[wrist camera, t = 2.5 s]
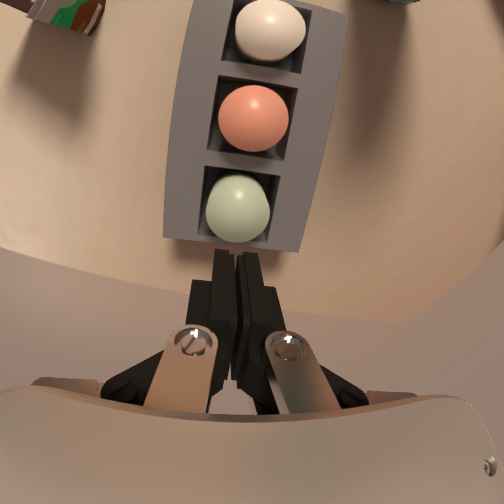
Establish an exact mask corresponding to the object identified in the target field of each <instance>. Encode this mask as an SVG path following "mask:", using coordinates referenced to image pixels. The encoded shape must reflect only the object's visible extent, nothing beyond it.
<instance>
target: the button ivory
mask: <svg viewBox="0 0 504 504" xmlns="http://www.w3.org/2000/svg"><path fill="white" fill-rule="evenodd" d="M305 31H306V27H305V22H304V20H303V18H302V16H301V14H300V13H299V12H298V11H297V10H296V9H295V8H294V7H293V6H291V5H289V4H288V3H285V2H283V1H280V0H257V1H254V2H252V3H250V4H248V5H246V6H245V7H244V8H243V9H242V10H241V11H240V13H239V14H238V16H237V19H236V27H235V45H236V48H237V50H238V52H239V54H240V55H241V56H242V57H243V58H244V59H246V60H247V61H249V62H251V63H253V64H257V65H273V64H276V63H278V62H280V61H282V60H283V59H284V58H286V57H287V56H288V55H289V54H290V53H291V52H292V51H293V50H295V49H296V48H297V47H298V46H299V45H300V44H301V42H302V41H303V39H304V36H305Z"/></svg>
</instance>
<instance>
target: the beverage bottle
mask: <svg viewBox="0 0 504 504" xmlns="http://www.w3.org/2000/svg"><path fill="white" fill-rule="evenodd" d="M387 1H390V2H393V3H398V4H405V5H410V4H408V3H411V4H412V2H417V1H419V0H387Z"/></svg>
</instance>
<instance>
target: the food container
mask: <svg viewBox="0 0 504 504" xmlns="http://www.w3.org/2000/svg"><path fill="white" fill-rule="evenodd" d="M0 2H1V3H4V4H7V5H9V6H11V7H14V8H16V9H18V10H20V11H23V12H25V13H27V16H26V17H27V18H31V19H34V20H37V21H40V22H43V23H46V24H54V25H57V26H61V27H64V28H67V29H71V30H74V31H77V32H80V33H83V34H86V35H88V36H91V34H92V33H93V31H94V30H95V28H96V27H97V25H98V23H99V21H100V19H101V16H102V14H103V12H104V9H105V3H106V0H0Z"/></svg>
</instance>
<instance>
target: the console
mask: <svg viewBox="0 0 504 504" xmlns="http://www.w3.org/2000/svg"><path fill="white" fill-rule="evenodd" d="M254 1H257V0H194V1H193V5H192V9H191V13H190V17H189V21H188V26H187V30H186V35H185V39H184V44H183V49H182V54H181V59H180V65H179V71H178V76H177V83H176V89H175V96H174V103H173V110H172V118H171V126H170V135H169V144H168V155H167V167H166V180H165V197H164V220H163V237H165V238H174V239H183V240H192V241H201V242H210V243H218V244H227V245H236V246H245V247H253V248H262V249H271V250H279V251H288V252H297V253H298V252H299V248H300V244H301V241H302V237H303V233H304V230H305V226H306V222H307V218H308V214H309V210H310V206H311V202H312V198H313V194H314V190H315V186H316V182H317V178H318V174H319V170H320V165H321V161H322V157H323V152H324V148H325V143H326V139H327V134H328V130H329V125H330V120H331V116H332V111H333V106H334V101H335V96H336V91H337V85H338V80H339V75H340V69H341V64H342V58H343V52H344V46H345V40H346V34H347V27H348V21H349V16H346V15H344V14H341V13H338V12H335V11H332V10H329V9H325V8H322V7H319V6H315V5H312V4H308V3H304V2H300V1H296V0H280V1H283V2H285V3H288V4H289V5H291V6H293V7H294V8H295V9H296V10H297V11H298V12H299V13H300V14H301V16H302V18H303V20H304V22H305V27H306V31H305V36H304V39H303V41H302V42H301V44H300V45H299V46H298V47H297V48H296V49H295V50H293V51H292V52H291V53H290V54H289V55H288V56H287V57H286V58H284V59H283V60H282V61H280V62H278V63H276V64H273V65H257V64H253V63H251V62H249V61H247V60H246V59H244V58H243V57H242V56H241V55H240V54H239V52H238V50H237V48H236V45H235V27H236V19H237V16H238V14H239V13H240V11H241V10H242V9H243V8H244V7H245V6H246V5H248V4H250V3H252V2H254ZM250 85H257V86H263V87H266V88H269V89H270V90H272V91H274V92H275V93H277V94H278V95H279V96H280V97H281V99H282V100H283V101H284V103H285V105H286V107H287V110H288V117H289V121H288V126H287V130H286V132H285V134H284V136H283V137H282V138H281V140H280V141H279V142H278V143H276V144H275V145H274V146H272V147H270V148H268V149H266V150H263V151H257V152H250V151H244V150H241V149H238V148H236V147H235V146H233V145H232V144H230V143H229V142H228V141H227V140H226V139H225V137H224V136H223V134H222V132H221V130H220V127H219V121H218V116H219V110H220V107H221V105H222V103H223V101H224V100H225V99H226V97H227V96H228V95H229V94H230V93H232V92H233V91H235V90H236V89H239V88H241V87H244V86H250ZM233 169H238V170H246V171H248V172H250V173H252V174H253V175H255V176H256V177H257V178H258V180H259V181H260V183H261V185H262V188H263V190H264V193H265V196H266V199H267V201H268V204H269V209H270V216H269V221H268V223H267V226H266V227H265V229H264V230H263V231H262V233H260V234H259V235H258V236H257V237H255V238H254V239H251V240H249V241H246V242H238V243H236V242H229V241H226V240H223V239H221V238H220V237H218V236H217V235H216V234H215V233H214V232H213V231H212V230H211V229H210V227H209V225H208V223H207V219H206V207H207V203H208V199H209V195H210V191H211V187H212V185H213V183H214V181H215V180H216V178H217V177H218V176H219V175H221V174H222V173H224V172H226V171H229V170H233Z"/></svg>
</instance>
